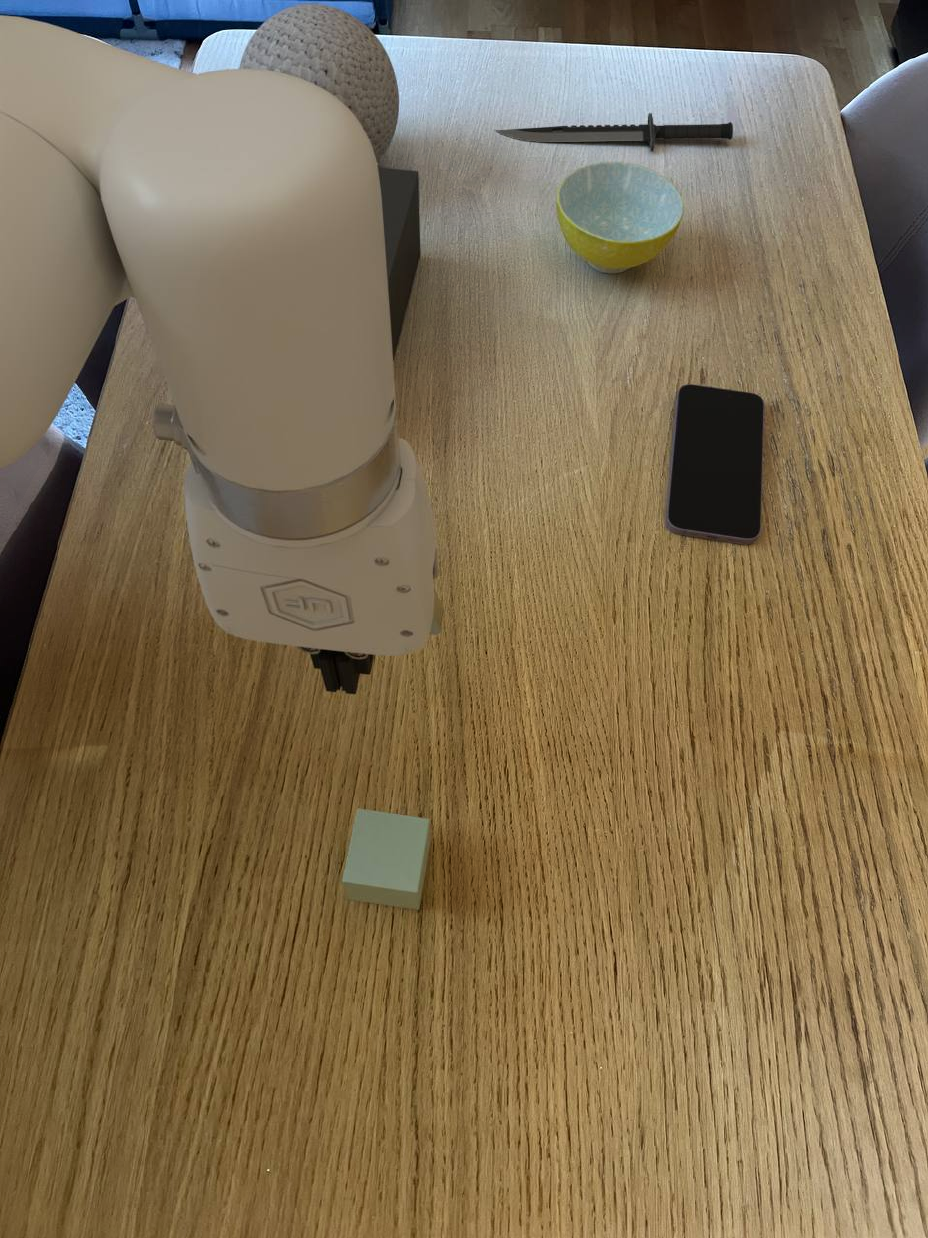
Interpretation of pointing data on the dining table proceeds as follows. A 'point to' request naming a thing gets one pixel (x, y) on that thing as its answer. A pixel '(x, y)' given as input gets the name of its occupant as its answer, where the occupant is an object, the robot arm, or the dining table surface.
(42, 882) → the dining table surface
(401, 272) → the cabinet
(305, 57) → the decorative ball
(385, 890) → the block
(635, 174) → the bowl
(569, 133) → the knife
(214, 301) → the robot arm
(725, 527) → the smartphone
